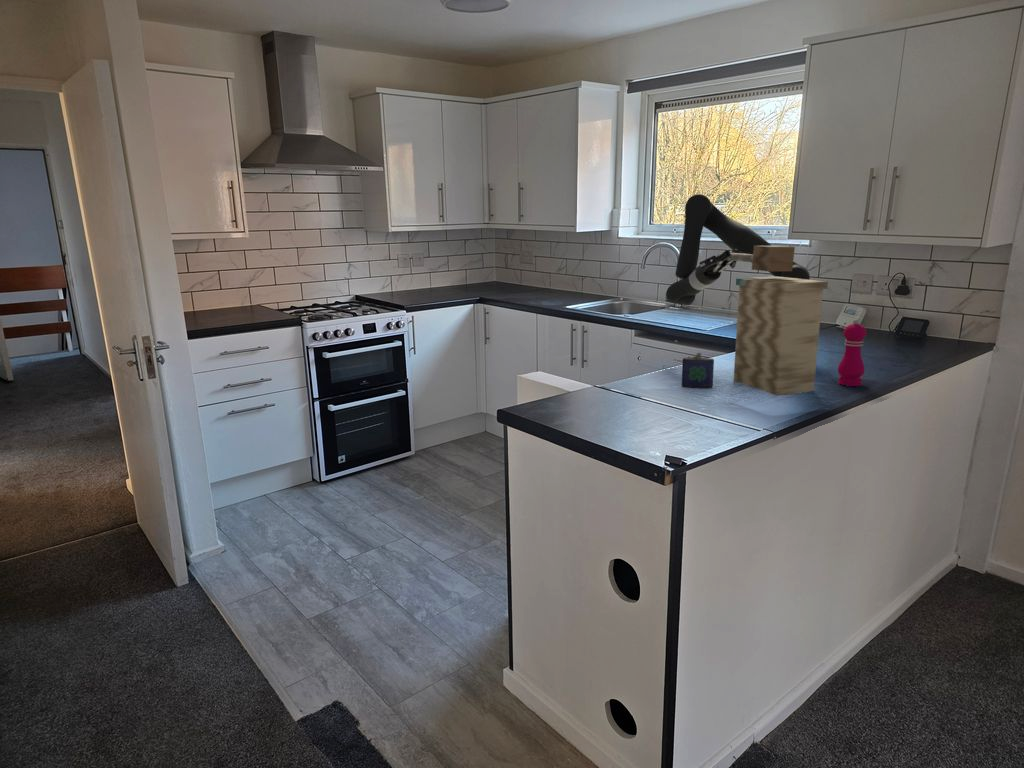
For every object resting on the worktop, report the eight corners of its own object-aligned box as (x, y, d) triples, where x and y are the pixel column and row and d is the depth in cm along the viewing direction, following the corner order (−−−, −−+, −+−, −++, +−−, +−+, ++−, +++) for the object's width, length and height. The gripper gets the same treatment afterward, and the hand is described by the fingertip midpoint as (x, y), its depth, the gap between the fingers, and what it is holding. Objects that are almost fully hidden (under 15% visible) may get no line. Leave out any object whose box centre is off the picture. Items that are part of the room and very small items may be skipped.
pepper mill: (830, 382, 201) (837, 318, 196) (848, 380, 204) (855, 316, 199) (850, 388, 194) (857, 321, 190) (868, 385, 197) (875, 319, 192)
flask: (712, 386, 200) (714, 352, 198) (713, 389, 197) (714, 354, 195) (681, 385, 202) (682, 351, 200) (681, 388, 199) (682, 353, 197)
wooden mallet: (711, 265, 215) (713, 243, 214) (732, 264, 218) (734, 243, 216) (769, 271, 190) (772, 246, 188) (792, 271, 192) (794, 246, 190)
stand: (730, 380, 207) (736, 278, 200) (767, 375, 212) (774, 276, 204) (778, 396, 187) (786, 284, 179) (817, 391, 191) (827, 281, 183)
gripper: (684, 266, 226) (711, 242, 210) (718, 264, 230) (748, 240, 214) (689, 286, 224) (717, 263, 208) (724, 284, 228) (754, 261, 212)
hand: (732, 252), depth 211 cm, fingers closed on wooden mallet, 2 cm apart
